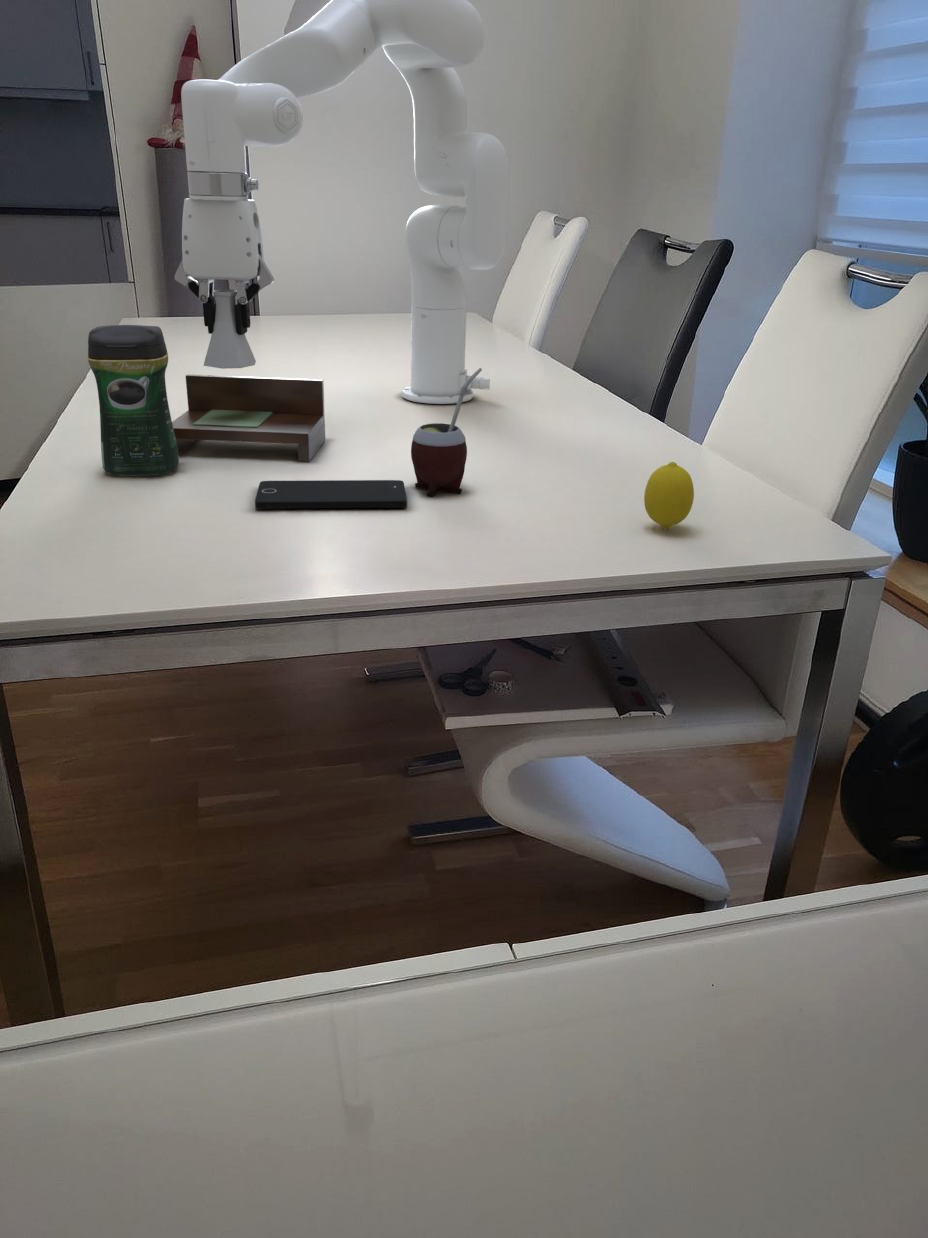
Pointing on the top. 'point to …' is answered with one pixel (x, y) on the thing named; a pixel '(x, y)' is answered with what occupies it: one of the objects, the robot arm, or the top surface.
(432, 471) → the mate gourd
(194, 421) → the shelf
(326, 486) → the cell phone
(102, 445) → the coffee jar
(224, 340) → the flask
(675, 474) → the lemon
